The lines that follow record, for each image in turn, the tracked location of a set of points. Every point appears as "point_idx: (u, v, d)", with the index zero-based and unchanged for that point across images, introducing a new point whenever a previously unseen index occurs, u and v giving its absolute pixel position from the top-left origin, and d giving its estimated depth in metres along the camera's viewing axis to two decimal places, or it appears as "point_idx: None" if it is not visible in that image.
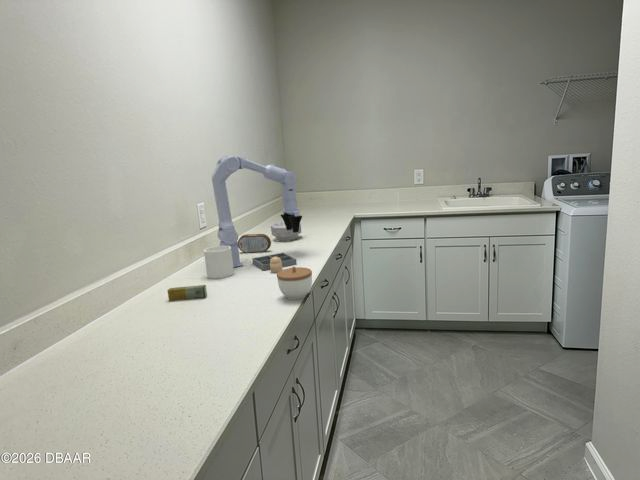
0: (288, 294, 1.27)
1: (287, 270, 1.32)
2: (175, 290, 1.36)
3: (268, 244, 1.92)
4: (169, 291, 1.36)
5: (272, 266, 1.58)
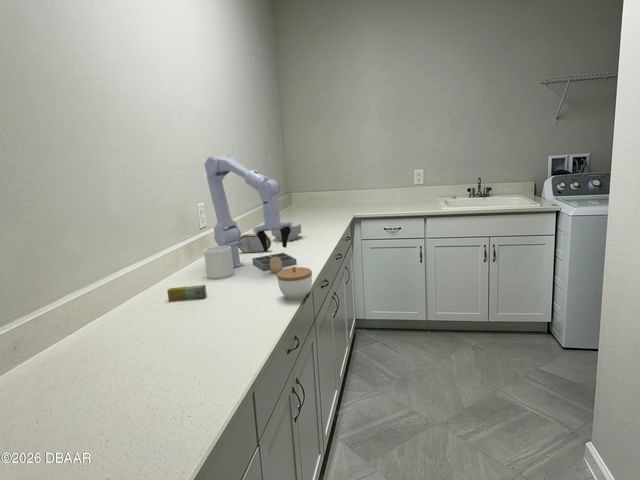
0: (288, 294, 1.27)
1: (287, 270, 1.32)
2: (175, 290, 1.36)
3: (268, 244, 1.92)
4: (169, 291, 1.36)
5: (272, 266, 1.58)
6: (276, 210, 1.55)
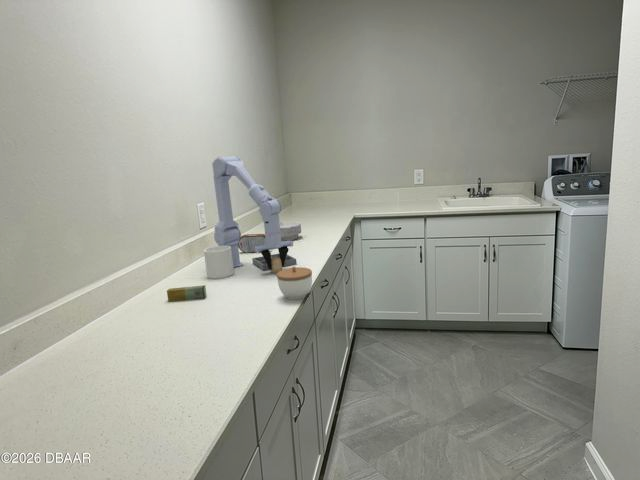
0: (288, 294, 1.27)
1: (287, 270, 1.32)
2: (174, 291, 1.35)
3: None
4: (168, 292, 1.35)
5: (272, 266, 1.58)
6: (277, 230, 1.55)
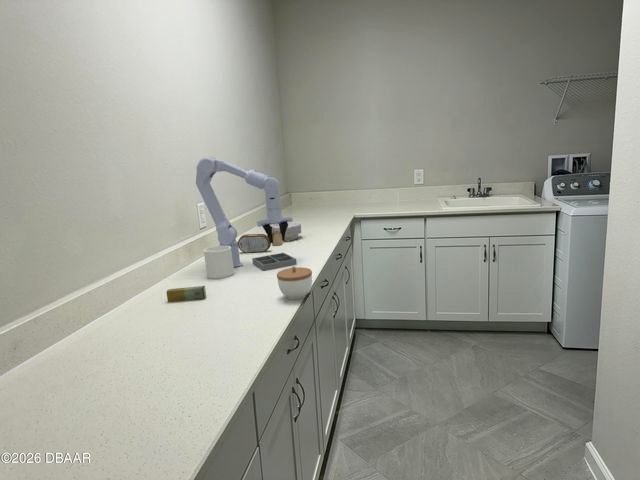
0: (288, 294, 1.27)
1: (287, 270, 1.32)
2: (174, 291, 1.35)
3: (268, 244, 1.92)
4: (168, 292, 1.35)
5: (273, 239, 1.71)
6: (280, 205, 1.70)
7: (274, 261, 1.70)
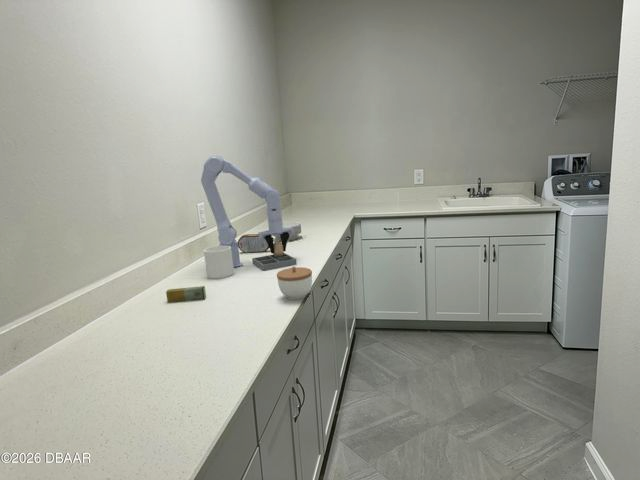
0: (288, 294, 1.27)
1: (287, 270, 1.32)
2: (174, 291, 1.34)
3: None
4: (168, 292, 1.34)
5: (274, 250, 1.73)
6: (281, 216, 1.72)
7: (274, 261, 1.70)
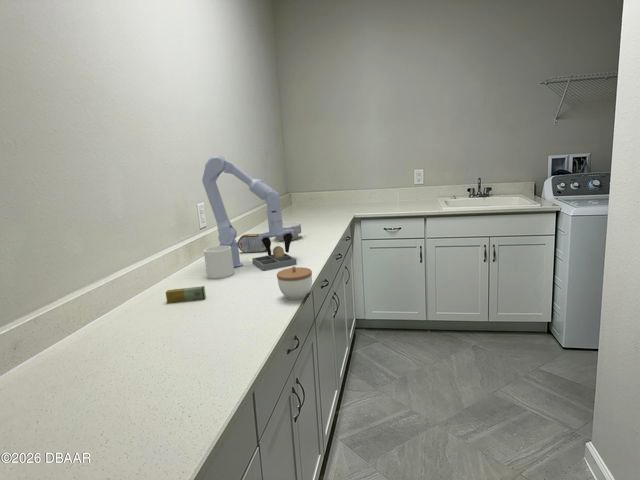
0: (288, 294, 1.27)
1: (287, 270, 1.32)
2: (173, 292, 1.34)
3: None
4: (167, 293, 1.34)
5: (275, 255, 1.73)
6: (281, 218, 1.72)
7: (274, 261, 1.70)
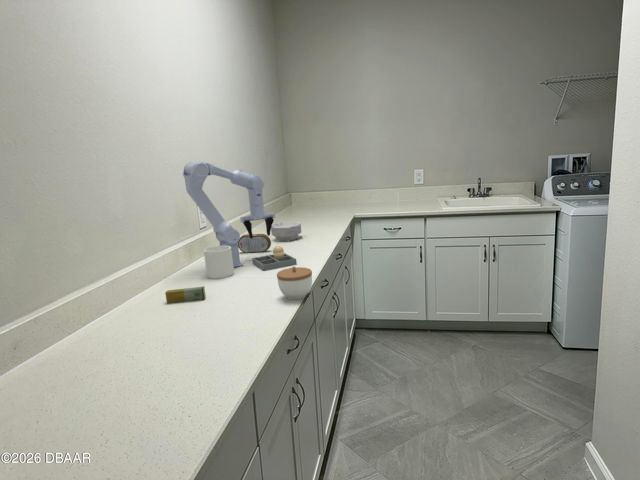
0: (288, 294, 1.27)
1: (287, 270, 1.32)
2: (173, 292, 1.34)
3: (268, 244, 1.92)
4: (167, 293, 1.34)
5: (275, 255, 1.73)
6: None
7: (274, 261, 1.70)
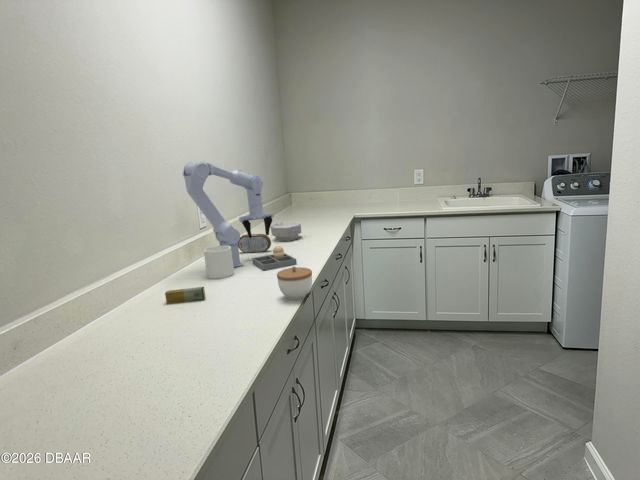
0: (288, 294, 1.27)
1: (287, 270, 1.32)
2: (173, 293, 1.33)
3: (268, 244, 1.92)
4: (167, 294, 1.33)
5: (275, 255, 1.73)
6: None
7: (274, 261, 1.70)
